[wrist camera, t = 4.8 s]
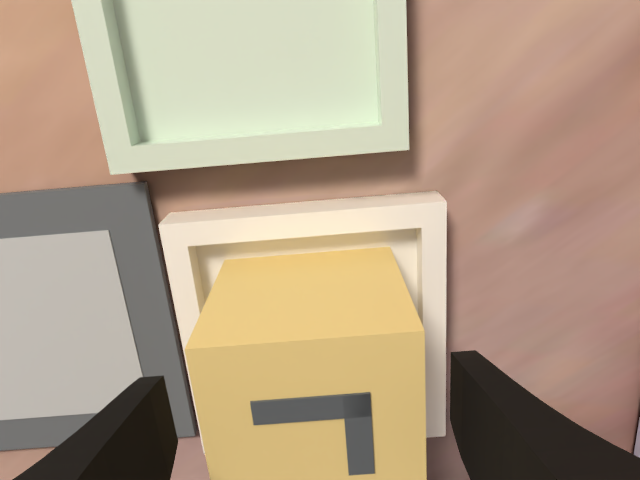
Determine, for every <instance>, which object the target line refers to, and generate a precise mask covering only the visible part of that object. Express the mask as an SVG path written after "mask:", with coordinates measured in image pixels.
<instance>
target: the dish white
mask: <svg viewBox="0 0 640 480" xmlns="http://www.w3.org/2000/svg"><path fill="white" fill-rule="evenodd" d="M158 226H159V231H160V236H161V241H162V246H163V251H164V256H165V261H166V266H167V271H168V276H169V282H170V287H171V292H172V297H173V302H174V307H175V312H176V317H177V322H178V327H179V332H180V337H181V342H182V347H183V352H184V357H185V362H186V367H187V372H188V377H189V382H190V387H191V392H192V397H193V402H194V407H195V412H196V417H197V422H198V427H199V432H200V437H201V442H202V447H203V452H204V454H205V451H204V446H203V441H202V435H201V430H200V425H199V420H198V415H197V410H196V405H195V400H194V395H193V390H192V385H191V380H190V375H189V370H188V365H187V360H186V355H185V350H184V349H185V347H186V345H187V343H188V340H189V338H190V336H191V334H192V331H193V329H194V327H195V325H196V323H197V320H198V318H199V316H200V314H201V311H202V309H203V307H204V305H205V302H206V300H207V298H208V296H209V293H210V291H211V289H212V287H213V285H214V282H215V280H216V278H217V276H218V273H219V271H220V269H221V267H222V264H223V262H224V260H229V259H241V258H253V257H266V256H278V255H291V254H303V253H316V252H328V251H341V250H353V249H366V248H378V247H390V248H391V250H392V253H393V255H394V258H395V260H396V263H397V265H398V267H399V270H400V272H401V275H402V277H403V279H404V282H405V284H406V287H407V289H408V292H409V294H410V296H411V299H412V301H413V304H414V306H415V308H416V311H417V313H418V316H419V318H420V321H421V323H422V325H423V328H424V330H425V391H426V438H428V437H442V436H446V257H447V201H446V200H445V199H444V198H443V197H442V196H441V195H440V194H439V193H438V192H437V191H428V192H416V193H403V194H391V195H379V196H367V197H354V198H342V199H330V200H318V201H305V202H293V203H281V204H269V205H256V206H244V207H232V208H219V209H207V210H195V211H183V212H170V213H169V214H168V215H167V216H166V217H165V218H164V219H163V220H162V221H161V222H160V223H159V225H158Z"/></svg>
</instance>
